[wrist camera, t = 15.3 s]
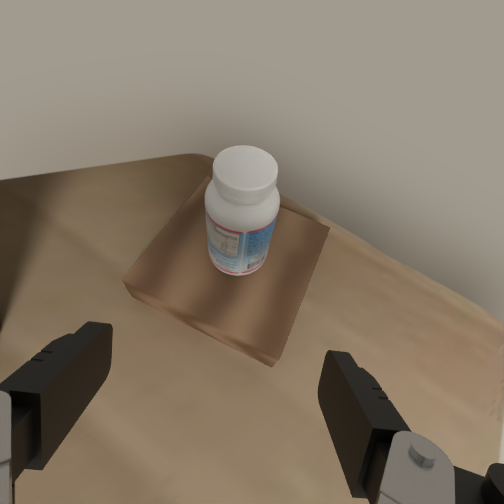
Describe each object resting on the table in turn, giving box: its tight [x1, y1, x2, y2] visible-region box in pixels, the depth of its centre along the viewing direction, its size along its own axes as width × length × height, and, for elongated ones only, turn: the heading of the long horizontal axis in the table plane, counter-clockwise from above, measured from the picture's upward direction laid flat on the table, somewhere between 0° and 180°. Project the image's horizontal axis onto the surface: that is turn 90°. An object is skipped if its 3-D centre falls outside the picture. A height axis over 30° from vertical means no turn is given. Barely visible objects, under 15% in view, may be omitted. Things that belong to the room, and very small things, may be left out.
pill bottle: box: [205, 145, 280, 276], centre depth 24 cm, size 6×6×11 cm
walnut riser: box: [122, 176, 330, 367], centre depth 31 cm, size 16×16×4 cm
